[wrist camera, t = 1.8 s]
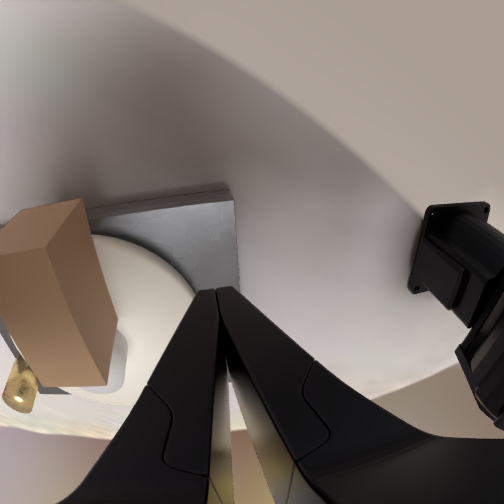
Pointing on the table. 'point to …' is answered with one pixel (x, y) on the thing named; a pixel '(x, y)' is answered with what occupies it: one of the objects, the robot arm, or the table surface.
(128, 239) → the base plate
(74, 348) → the flange
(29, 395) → the gold rounded piece
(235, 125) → the table surface
